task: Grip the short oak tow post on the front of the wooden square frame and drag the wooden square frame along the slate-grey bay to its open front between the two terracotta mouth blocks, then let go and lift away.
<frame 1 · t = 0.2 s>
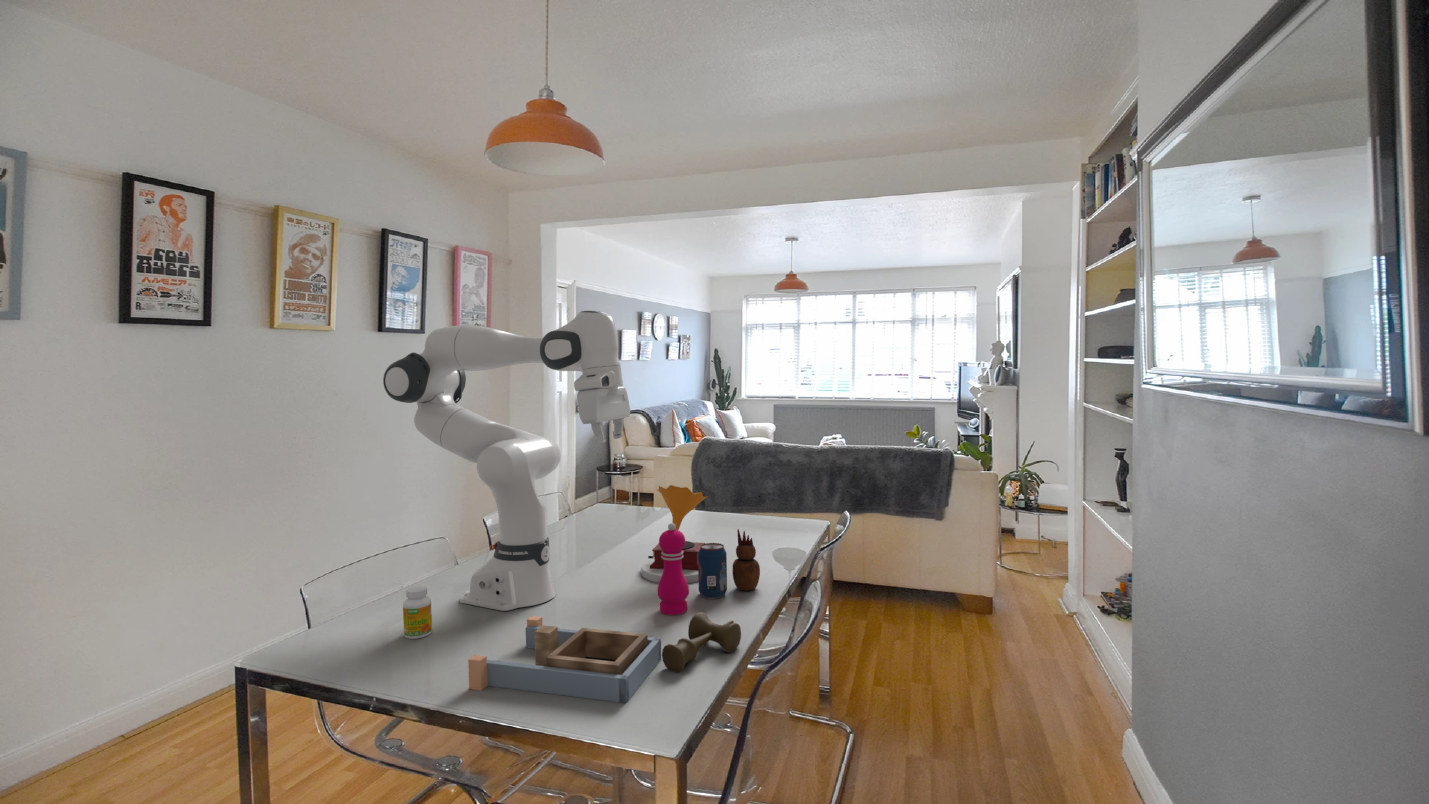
hand: (610, 440, 149), 39 cm above the table, tool pointing down, fingers open, 8 cm apart
supplement bottle: (418, 635, 136), on the table
kendama: (704, 654, 125), on the table
wooden square frame: (585, 652, 117), point 4 cm above the table, slide at 0.0 cm
bay: (572, 671, 118), on the table
pepper mill: (673, 611, 147), on the table
soda can: (712, 595, 157), on the table
wooden figurine: (746, 589, 161), on the table
gramophone: (679, 572, 176), on the table
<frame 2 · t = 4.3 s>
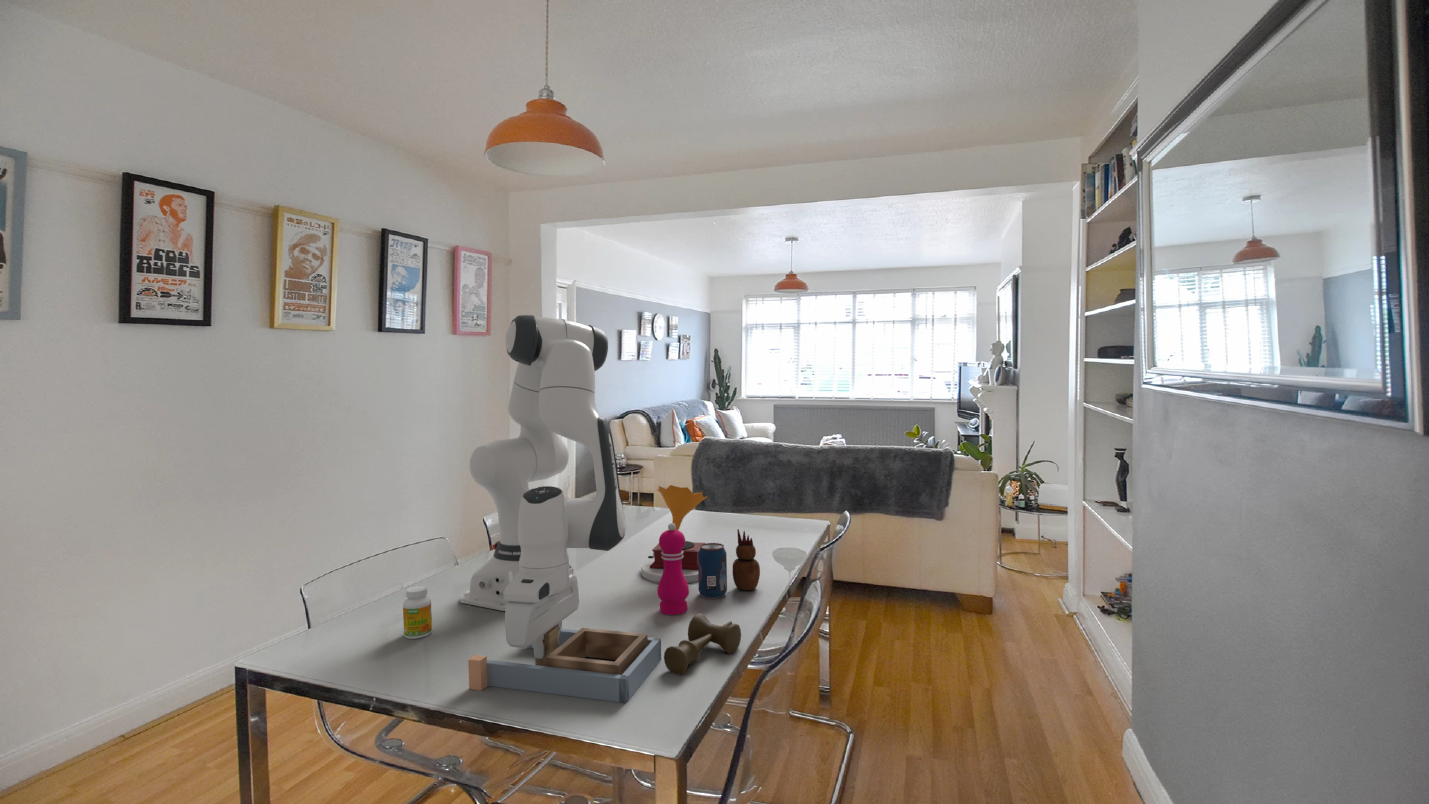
hand: (546, 651, 119), 3 cm above the table, tool pointing down, fingers closed on wooden square frame, 3 cm apart
wooden square frame: (585, 652, 117), point 4 cm above the table, slide at 0.0 cm, touching gripper
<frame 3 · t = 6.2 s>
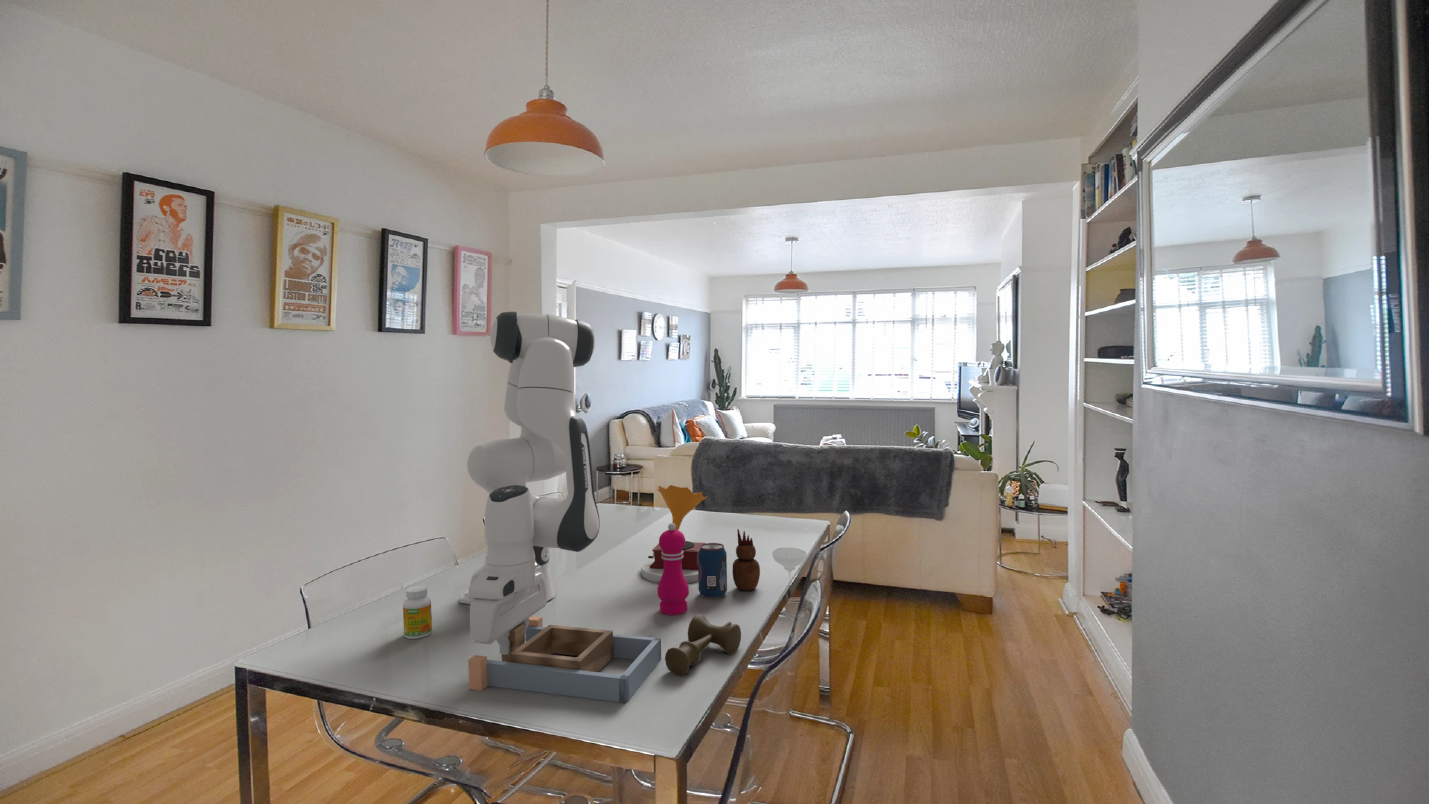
hand: (513, 648, 121), 3 cm above the table, tool pointing down, fingers closed on wooden square frame, 3 cm apart
wooden square frame: (550, 648, 119), point 4 cm above the table, slide at 7.0 cm, touching gripper
everything else where it was.
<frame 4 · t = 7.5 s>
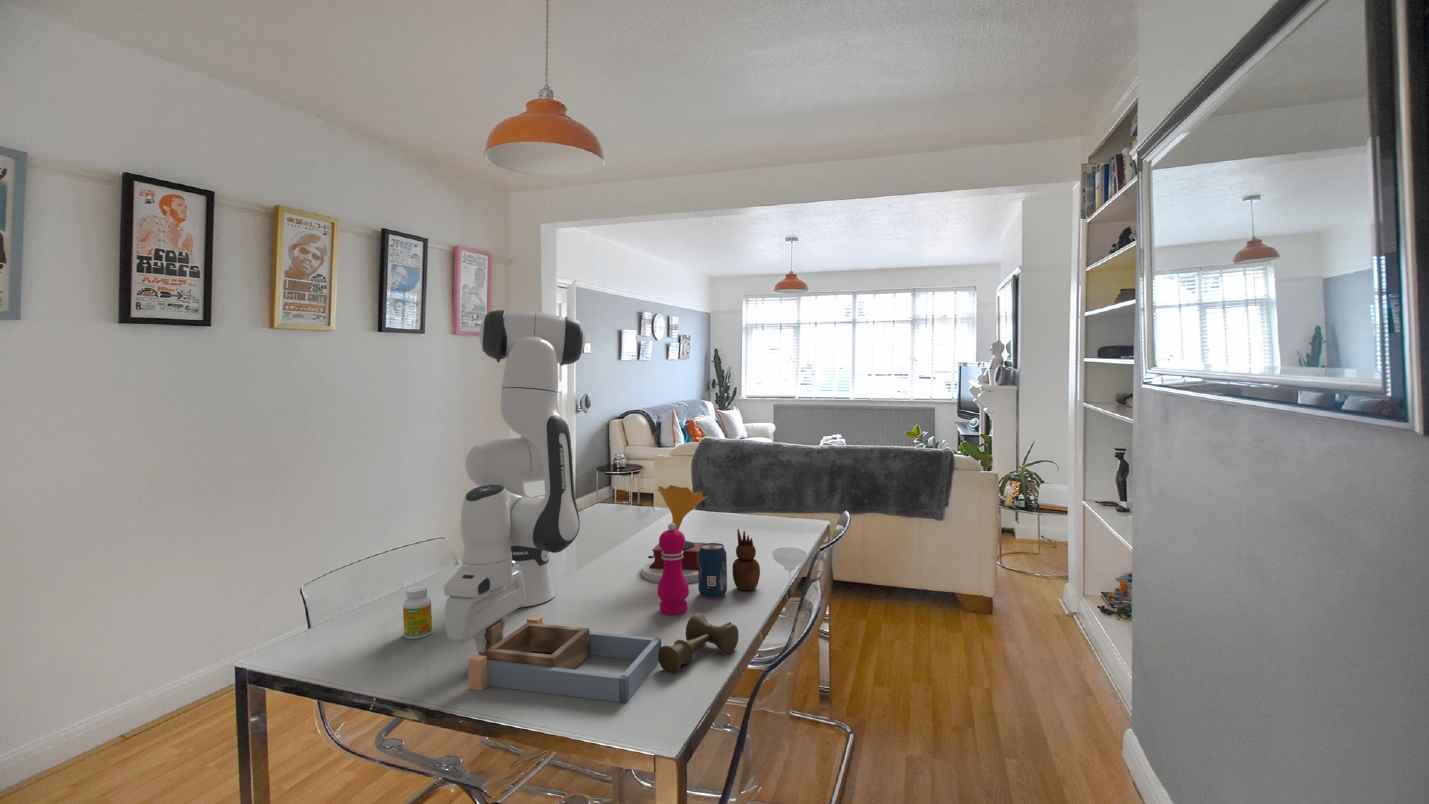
hand: (490, 645, 122), 3 cm above the table, tool pointing down, fingers closed on wooden square frame, 3 cm apart
wooden square frame: (527, 645, 120), point 4 cm above the table, slide at 11.9 cm, touching gripper
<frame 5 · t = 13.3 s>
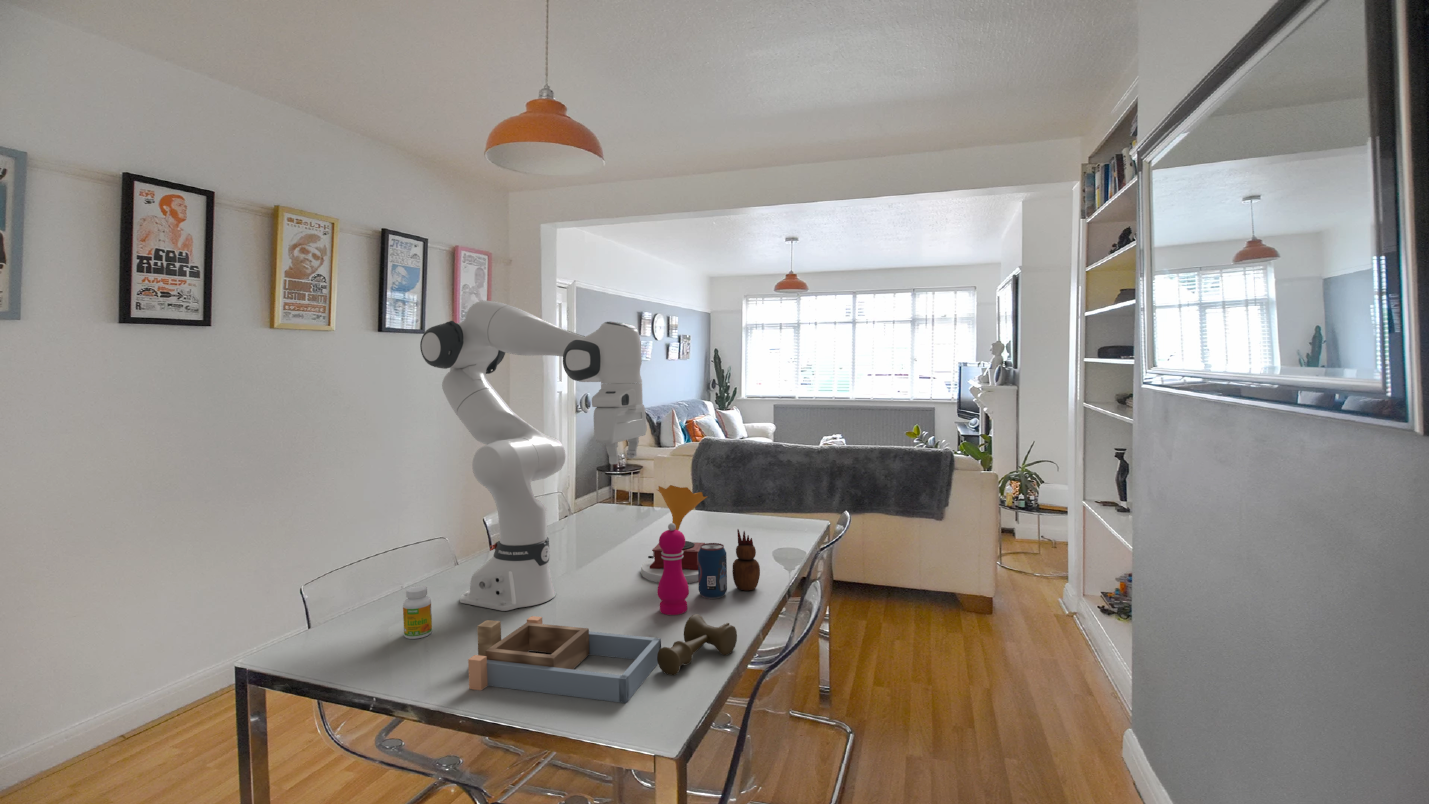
hand: (623, 460, 140), 35 cm above the table, tool pointing down, fingers open, 8 cm apart
wooden square frame: (526, 645, 120), point 4 cm above the table, slide at 12.0 cm
at the end: wooden square frame slide at 12.0 cm; the gripper is holding nothing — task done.
